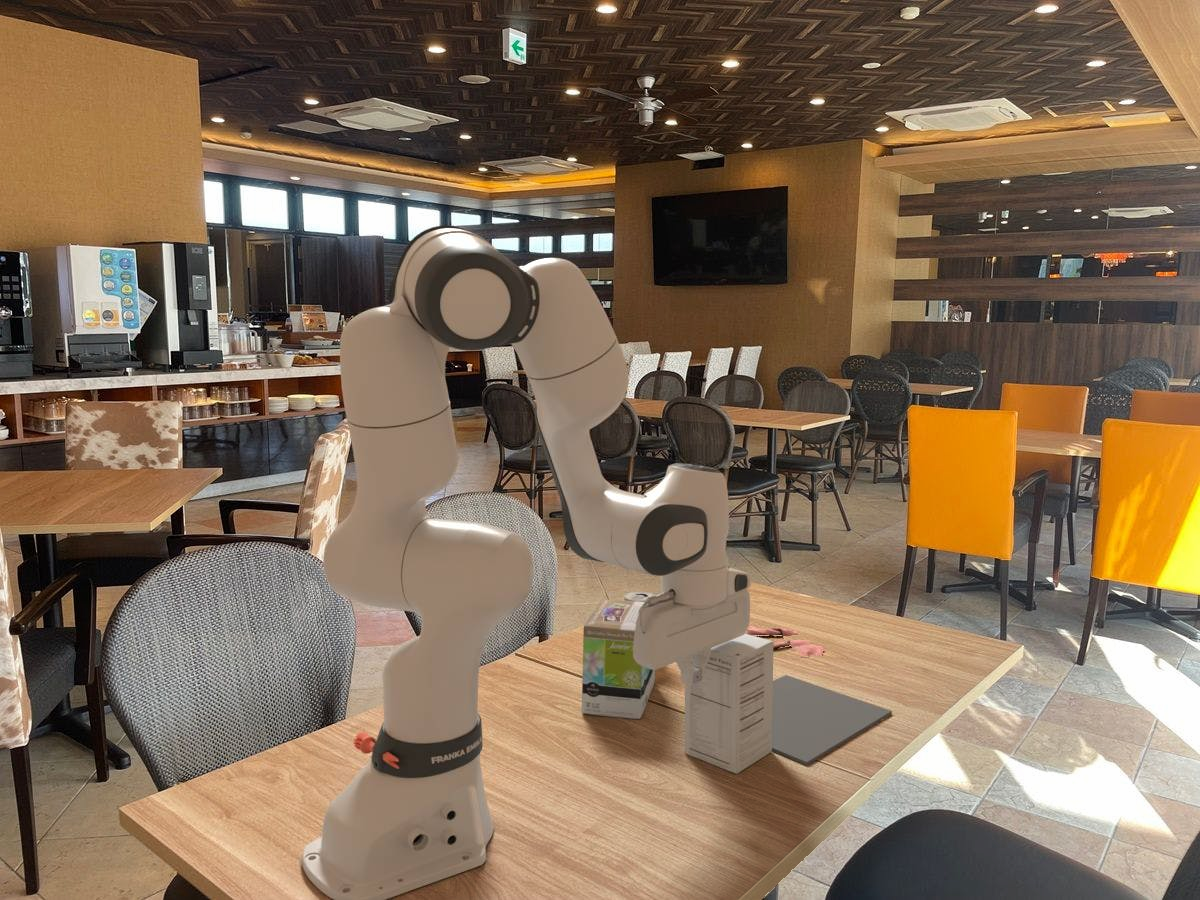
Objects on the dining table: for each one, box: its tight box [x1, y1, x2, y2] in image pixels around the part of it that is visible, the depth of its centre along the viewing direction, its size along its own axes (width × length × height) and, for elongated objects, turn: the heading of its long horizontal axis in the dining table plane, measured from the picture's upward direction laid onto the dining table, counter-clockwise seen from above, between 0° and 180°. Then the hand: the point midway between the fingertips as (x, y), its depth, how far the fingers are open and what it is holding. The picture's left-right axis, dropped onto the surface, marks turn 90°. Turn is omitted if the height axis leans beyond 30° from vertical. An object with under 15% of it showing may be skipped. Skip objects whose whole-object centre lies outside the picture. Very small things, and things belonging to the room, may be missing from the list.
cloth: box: [747, 626, 825, 657], centre depth 174 cm, size 20×22×2 cm
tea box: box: [581, 598, 656, 720], centre depth 146 cm, size 15×10×15 cm
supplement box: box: [684, 634, 775, 775], centre depth 127 cm, size 10×9×17 cm
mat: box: [772, 674, 893, 766], centre depth 140 cm, size 24×20×1 cm
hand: (692, 681), depth 121 cm, fingers closed
